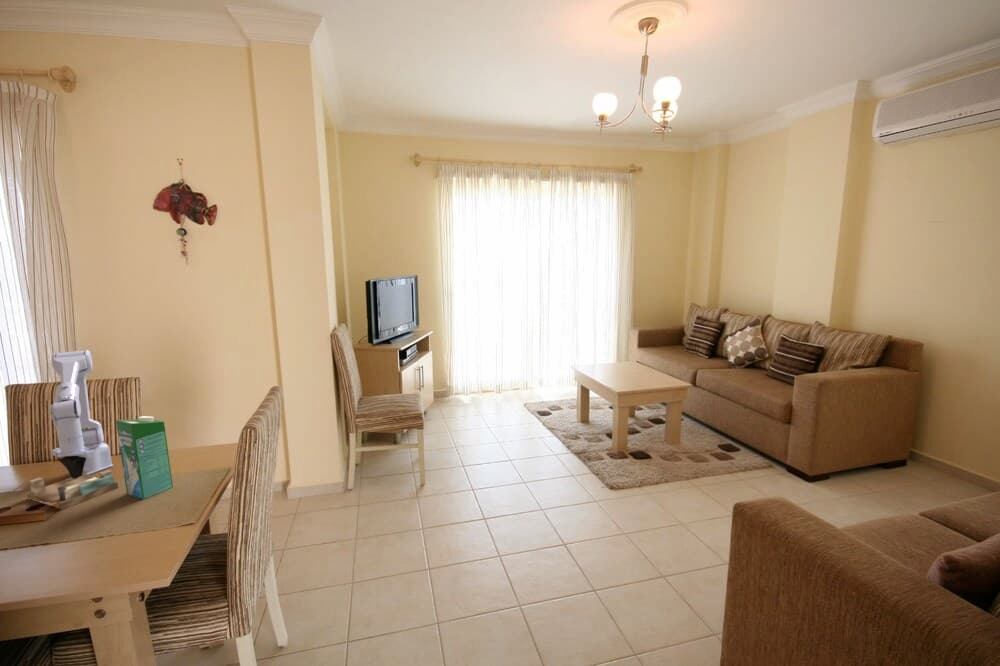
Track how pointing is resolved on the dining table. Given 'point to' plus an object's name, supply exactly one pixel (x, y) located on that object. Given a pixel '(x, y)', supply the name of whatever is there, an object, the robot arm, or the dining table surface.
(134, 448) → the milk carton
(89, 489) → the stool seat
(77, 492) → the stool leg
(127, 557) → the dining table surface
